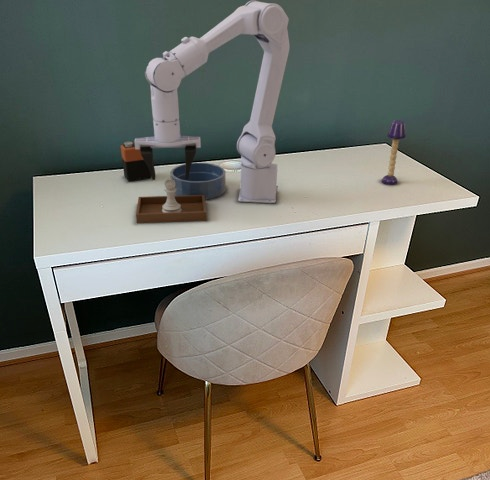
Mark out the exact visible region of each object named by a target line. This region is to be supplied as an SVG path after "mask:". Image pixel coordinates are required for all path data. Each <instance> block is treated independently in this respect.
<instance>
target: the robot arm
mask: <svg viewBox="0 0 490 480" xmlns="http://www.w3.org/2000/svg"><path fill="white" fill-rule="evenodd" d="M289 22H290V18H289V16H288V15H287V14H286V12H285V10H284V9H283V7H282V6H281V5H279V4H278V3H273V2H272V3H269V2H262V1H259V0H249V1H247V2H246V3H245V5H241V6H239V7H237V8H236V9H235V10H234V11H233V12H232V13H231V14H230V15H228V16H227V17H226V18H223V20H221V21H220V22H219V23H218V24H216V25H215V26H214V27H213V28H211V29H210V30H209V31H208V32H206V33H205V34H203V36H201V37H199V38H198V37H196V36H189V37H187V36H184V37H183V38H181V39H180V41H181V43H179V44H178V45H177V46H175V47H174V48H172V49H170V50H169V51H167V50H165V51H164V52H162V57H155V58H153V59H151V60H150V61H149V62H148V64H147V66H146V69H145V71H144V76H145V79H146V81H147V82H148V84H149V85H150V86H149V87H150V101H151V102H150V103H151V112H152V113H151V114H152V124H153V136H146V137H135V138H134V143H135V149H140V151H141V152H140V153H141V156H142V158H143V159H144V161H145V162H146V164H147V166H148V168H149V170H150V173H151V181H156V177H157V176H156V167H155V163H154V162H155V161H154V151H153V149H165V148H167V149H168V148H184V156H185V158H184V159H185V164H186V167H185V174H186V179H189V171H190V167H191V164H192V163H193V161H194V159H195V156H196V154H197V149H201V148H202V145H201V144H202V143H201V142H202V141H201V136H191V135H190V136H189V135H181V126H180V125H181V124H180V123H181V122H180V108H179V107H180V106H179V96H178V88H179V87H180V85H181V83H182V80H183V79H184V78H185V77H187V76H189V75H190V74H192V73H193V72H194V71H196V70H197V69H199V68H200V67H202V66H203V65H204V64H206V63H207V62H208V58H209V54H210V53H211V52H213V51H215V50H217V49H218V48H220V47H222V46H223V45H225V44H226V43H228V42H229V41H231V40H233V39H234V38H236V37H238V36H240V35H250V36H253V37H254V38H255V39H256V40H257V42H258V43H259V46H260V48H262V50H263V56H262V61H261V64H260V65H261V66H260V71H259V75H258V79H257V84H256V90H255V95H254V98H253V103H252V109H251V114H250V119H249V121H248V122H247V123H246V124H245V125H244V126H243V129H242V132H241V135H240V136H239V137H238V139H237V142H236V151H237V153H238V154H239V155H240V188H239V193H238V199H237V201H238V203H239V202H240V203H259V204H260V203H265V204H275V203H276V202H277V193H278V187H279V185H277V182H278V164H277V163H273V161H274V160H275V158H276V146H275V144H276V135H275V132H274V129H273V123H274V118H275V115H276V110H277V106H278V101H279V97H280V92H281V88H282V84H283V81H284V80H283V79H284V75H285V70H286V66H287V62H288V57H289V53H290V48H291V46H290V38H289V31H288V25H289Z"/></svg>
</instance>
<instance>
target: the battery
mask: <svg viewBox="0 0 490 480" xmlns="http://www.w3.org/2000/svg"><path fill="white" fill-rule="evenodd" d="M120 152H121V161H122V168H123V177H124V178H125V179H126V180H127V182H135V181H141V180H147V179H148V180H149V179H152V176H151V173H150V170H149V168H148V166H147V164H146V162H145V161H144V159H143V158H142V156H141V153H140V152H141V151H140V149H135V142H134V143H133V142H132V141H125V142H124V143H123V144H121V145H120Z"/></svg>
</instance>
